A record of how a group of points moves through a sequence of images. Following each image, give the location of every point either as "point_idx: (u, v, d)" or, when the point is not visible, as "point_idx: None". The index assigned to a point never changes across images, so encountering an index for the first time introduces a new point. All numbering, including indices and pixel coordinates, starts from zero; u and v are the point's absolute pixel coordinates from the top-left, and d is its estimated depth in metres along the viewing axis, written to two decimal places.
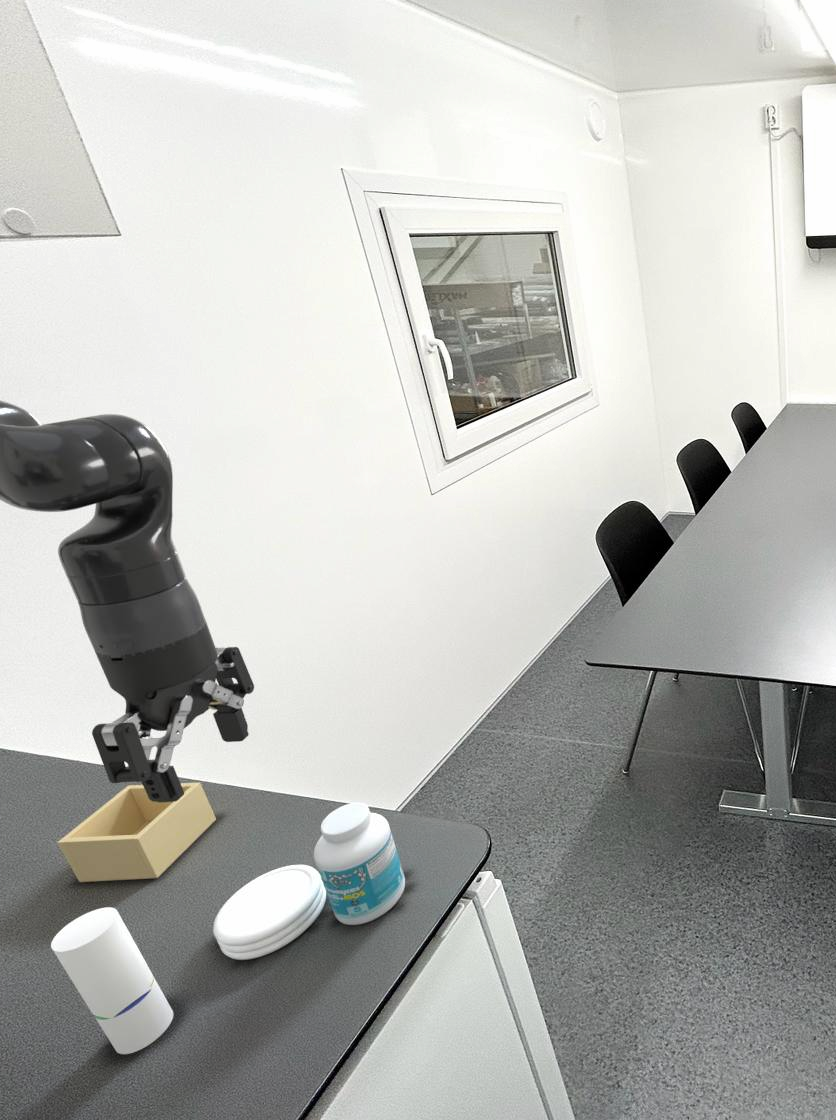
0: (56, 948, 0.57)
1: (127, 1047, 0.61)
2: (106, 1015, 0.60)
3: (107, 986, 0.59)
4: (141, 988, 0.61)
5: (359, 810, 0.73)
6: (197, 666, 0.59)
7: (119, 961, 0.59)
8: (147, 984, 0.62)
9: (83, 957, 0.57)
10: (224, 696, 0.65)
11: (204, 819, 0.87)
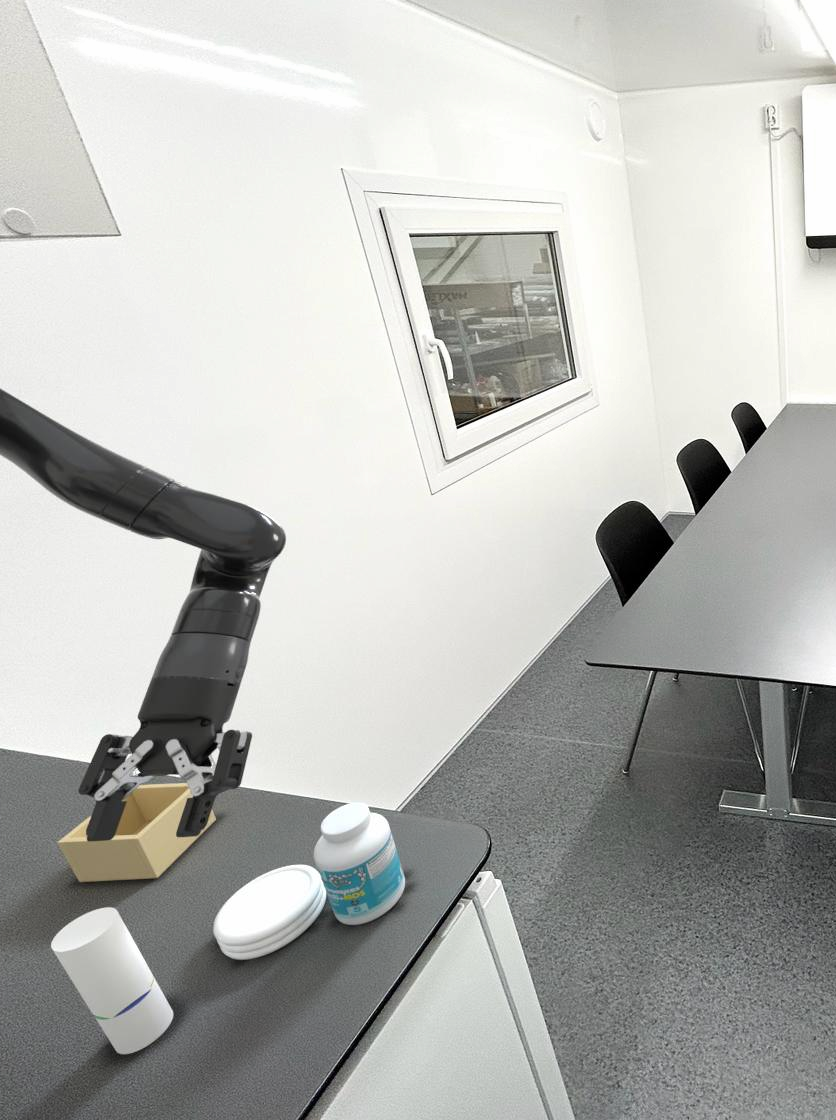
0: (56, 948, 0.57)
1: (127, 1047, 0.61)
2: (106, 1015, 0.60)
3: (107, 986, 0.59)
4: (141, 988, 0.61)
5: (359, 810, 0.73)
6: None
7: (119, 961, 0.59)
8: (147, 984, 0.62)
9: (83, 957, 0.57)
10: None
11: None
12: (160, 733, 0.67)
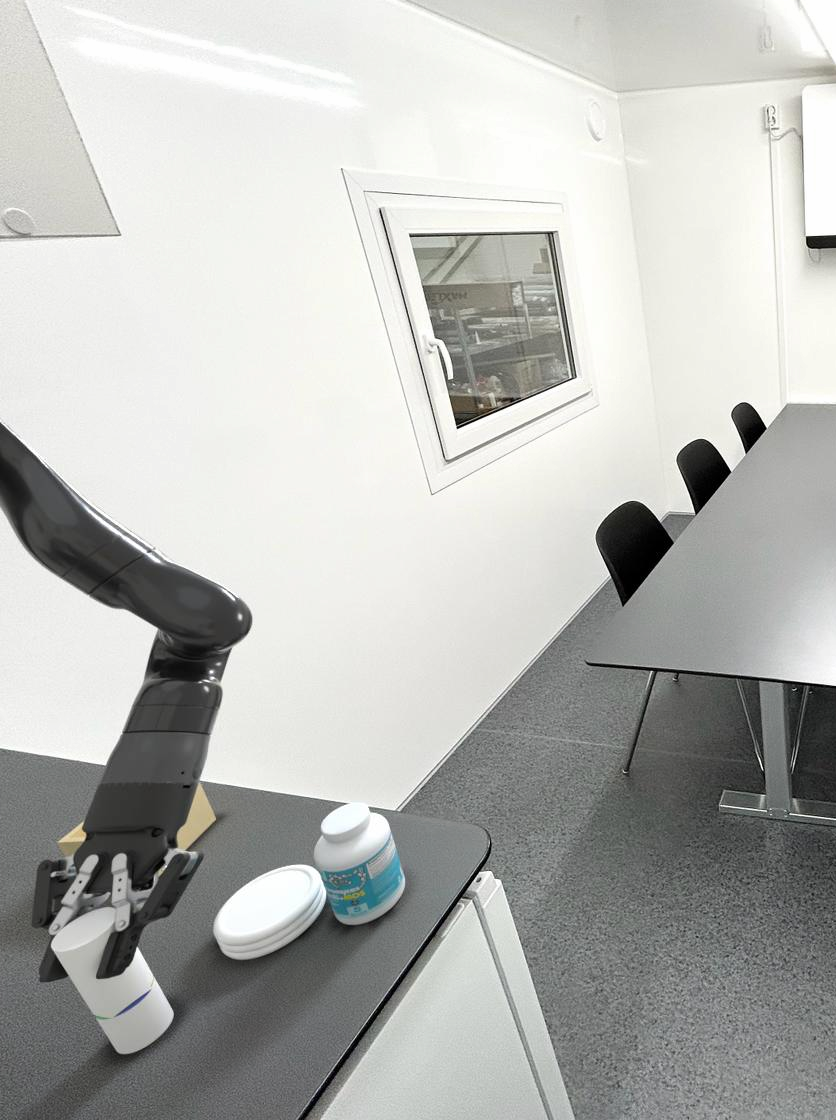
0: (56, 948, 0.57)
1: (127, 1046, 0.61)
2: (106, 1015, 0.60)
3: (107, 986, 0.59)
4: (141, 988, 0.61)
5: (359, 810, 0.73)
6: None
7: None
8: (147, 984, 0.62)
9: (83, 957, 0.57)
10: None
11: (204, 819, 0.87)
12: (107, 845, 0.61)
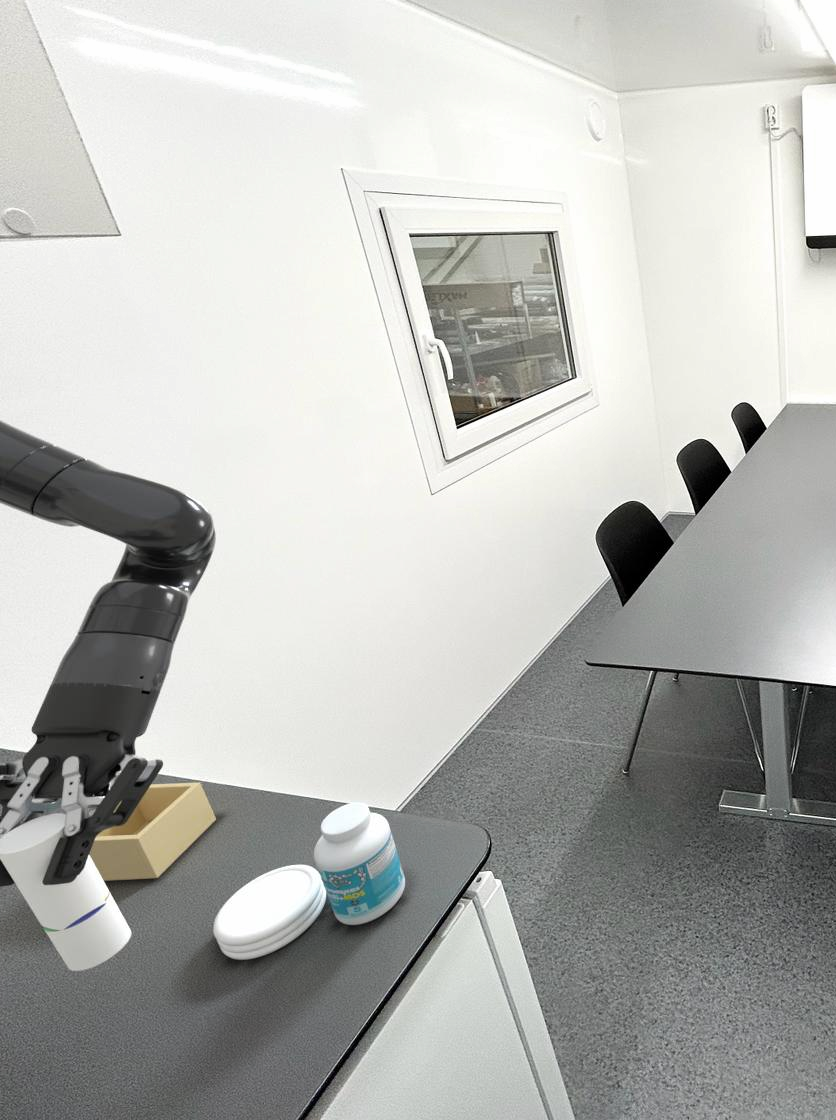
0: (0, 850, 0.53)
1: (79, 963, 0.58)
2: (56, 927, 0.56)
3: (56, 895, 0.55)
4: (94, 900, 0.58)
5: (359, 810, 0.73)
6: None
7: None
8: (101, 897, 0.58)
9: (29, 861, 0.54)
10: None
11: (204, 819, 0.87)
12: (59, 749, 0.58)
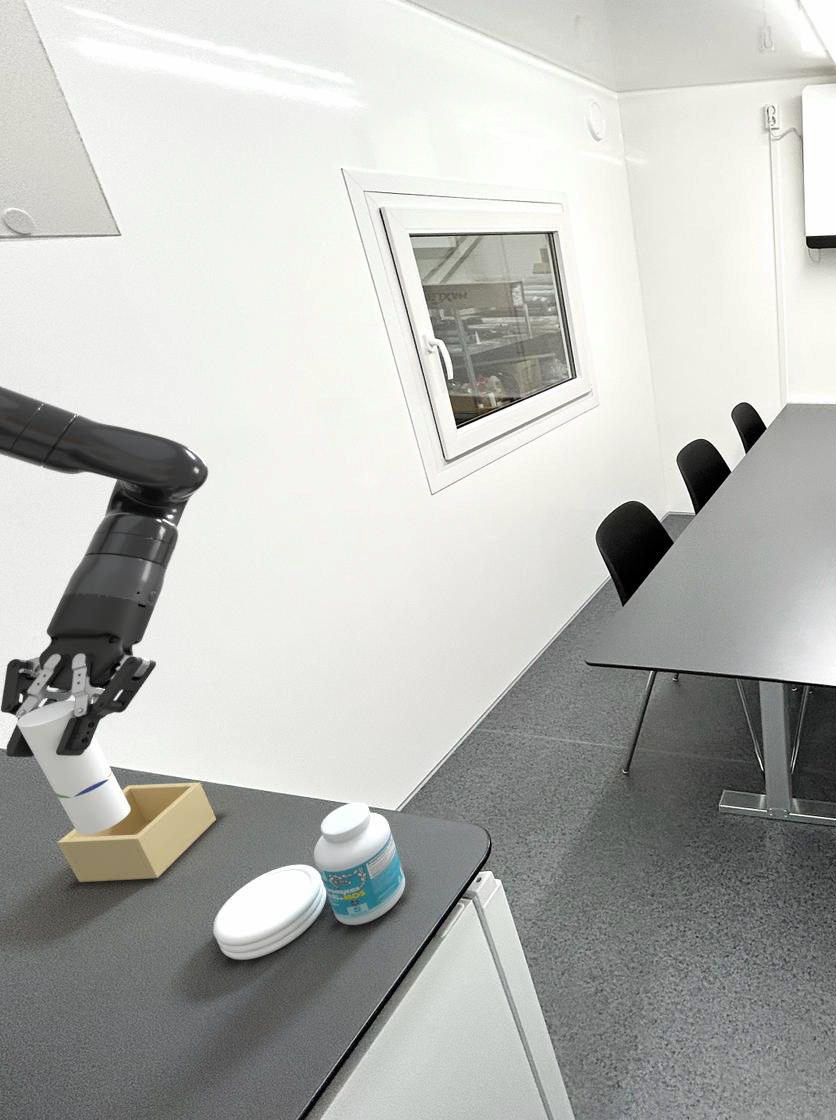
0: (21, 724, 0.64)
1: (87, 827, 0.69)
2: (67, 794, 0.68)
3: (67, 766, 0.67)
4: (99, 775, 0.69)
5: (359, 810, 0.73)
6: None
7: None
8: (105, 773, 0.70)
9: (45, 734, 0.65)
10: None
11: (204, 819, 0.87)
12: (69, 648, 0.69)
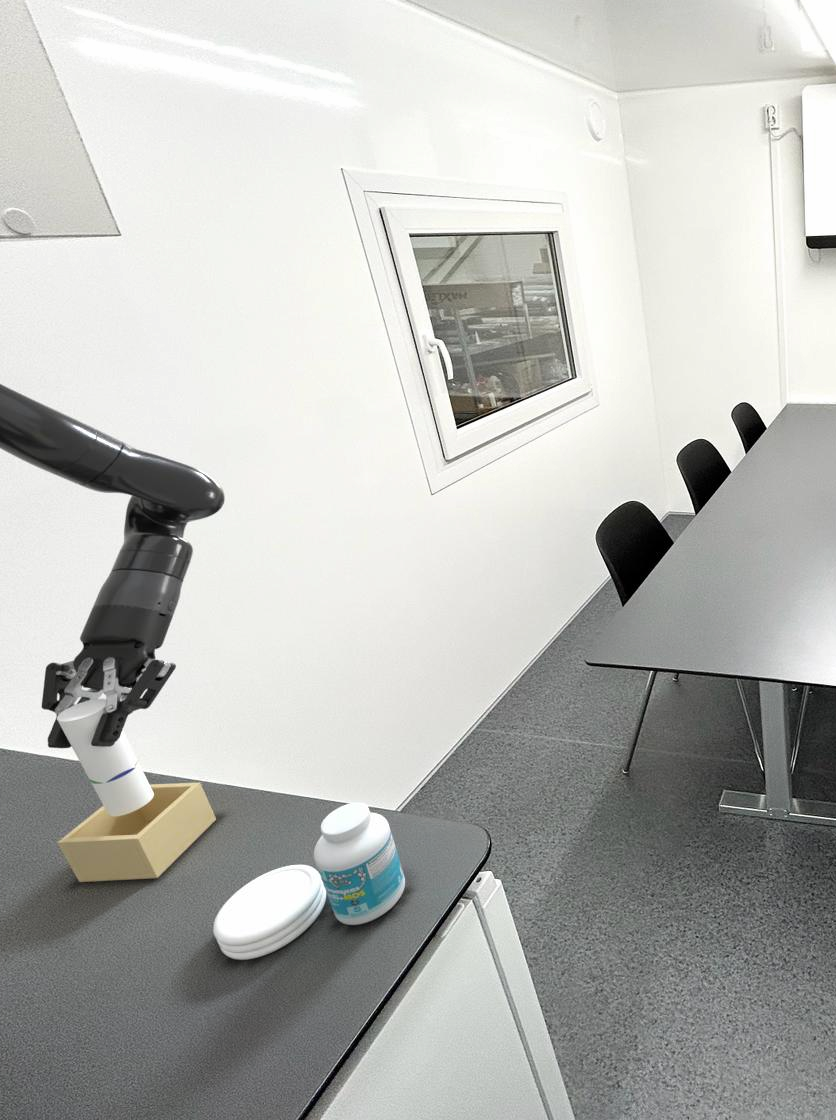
0: (61, 719, 0.74)
1: (116, 809, 0.79)
2: (100, 780, 0.77)
3: (100, 756, 0.76)
4: (127, 764, 0.79)
5: (359, 810, 0.73)
6: None
7: None
8: (132, 762, 0.80)
9: (81, 728, 0.75)
10: None
11: (204, 819, 0.87)
12: (100, 653, 0.79)
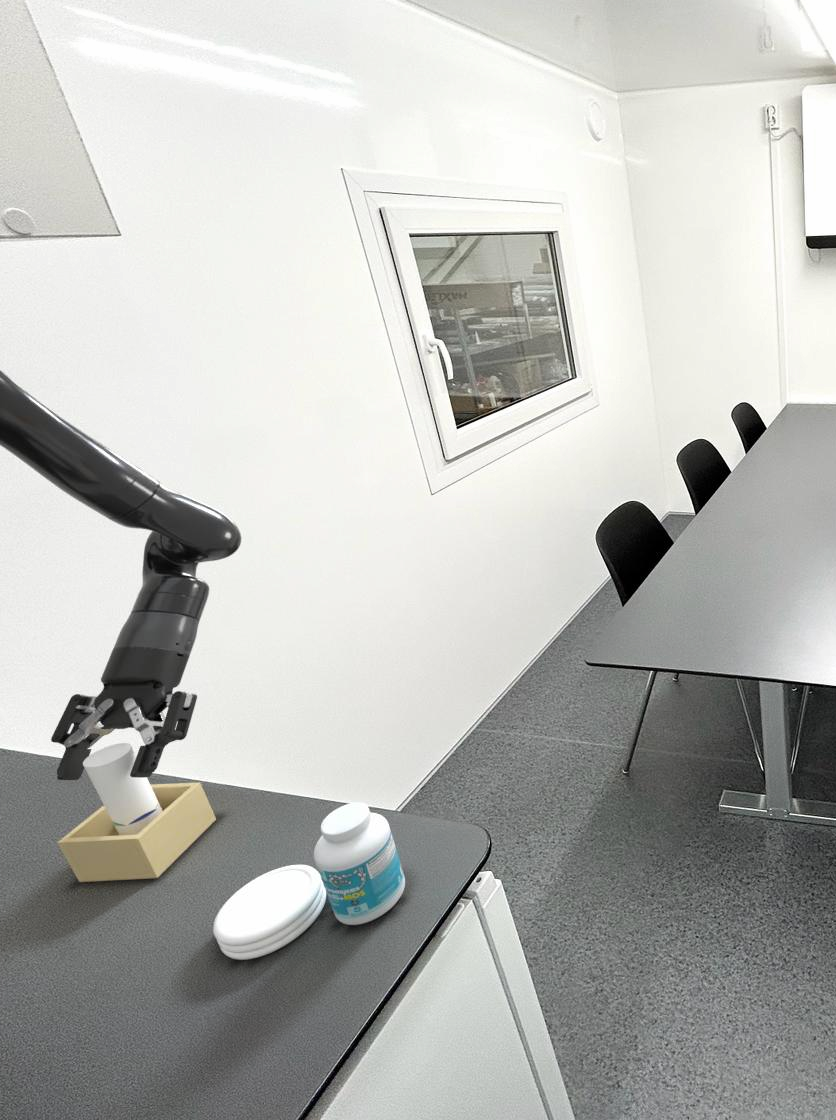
0: (86, 765, 0.77)
1: None
2: (123, 822, 0.80)
3: (123, 799, 0.79)
4: (149, 806, 0.82)
5: (359, 810, 0.73)
6: None
7: (133, 781, 0.80)
8: (153, 804, 0.82)
9: (106, 773, 0.77)
10: None
11: (204, 819, 0.87)
12: (120, 693, 0.81)
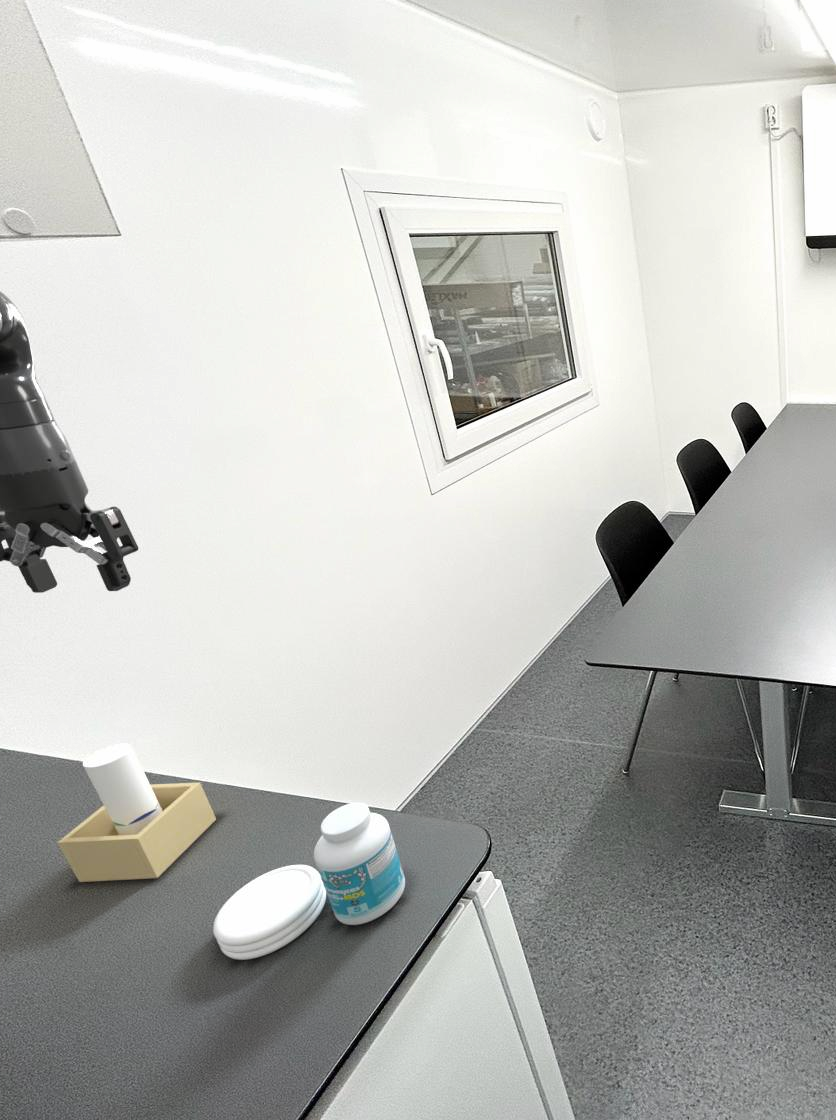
0: (86, 765, 0.77)
1: None
2: (123, 822, 0.80)
3: (123, 799, 0.79)
4: (149, 806, 0.81)
5: (359, 810, 0.73)
6: None
7: (133, 781, 0.80)
8: (153, 804, 0.82)
9: (106, 773, 0.77)
10: None
11: (204, 819, 0.87)
12: (28, 515, 0.72)
